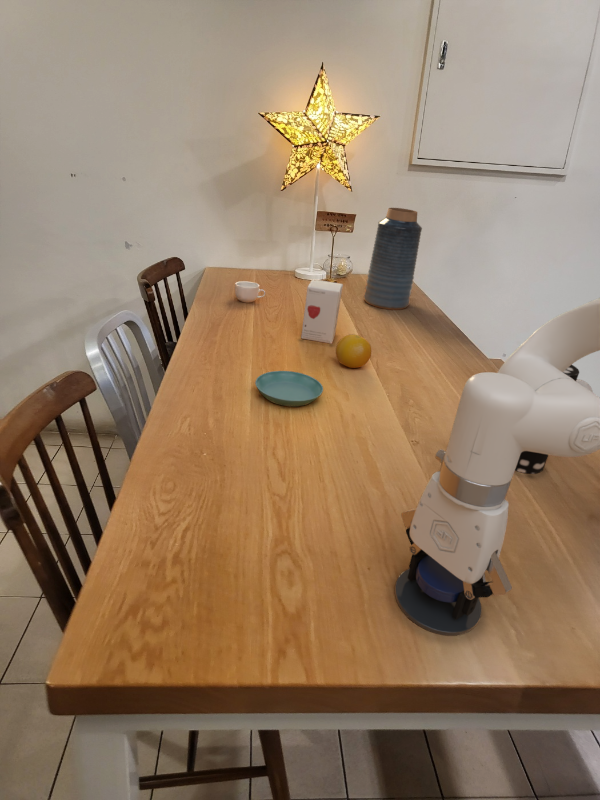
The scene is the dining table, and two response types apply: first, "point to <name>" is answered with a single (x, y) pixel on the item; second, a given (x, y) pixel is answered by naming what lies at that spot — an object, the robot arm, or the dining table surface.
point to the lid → (438, 581)
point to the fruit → (353, 351)
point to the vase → (393, 260)
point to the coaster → (432, 609)
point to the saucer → (289, 388)
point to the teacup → (247, 291)
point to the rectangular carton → (321, 311)
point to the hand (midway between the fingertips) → (438, 593)
